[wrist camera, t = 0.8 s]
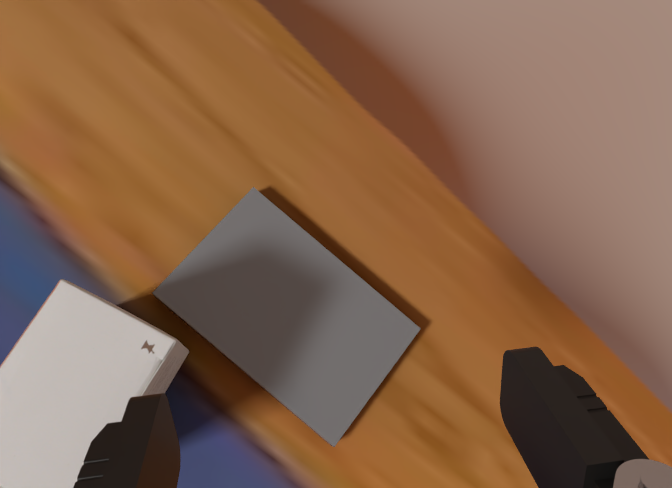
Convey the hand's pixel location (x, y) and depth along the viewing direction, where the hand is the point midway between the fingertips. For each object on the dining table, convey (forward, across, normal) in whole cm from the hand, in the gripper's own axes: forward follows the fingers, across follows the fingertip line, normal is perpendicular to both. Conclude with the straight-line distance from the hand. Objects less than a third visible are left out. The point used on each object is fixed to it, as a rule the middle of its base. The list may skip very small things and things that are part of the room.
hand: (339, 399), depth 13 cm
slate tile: (+20, +2, +10) cm, 22 cm away
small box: (+16, +12, +12) cm, 23 cm away
